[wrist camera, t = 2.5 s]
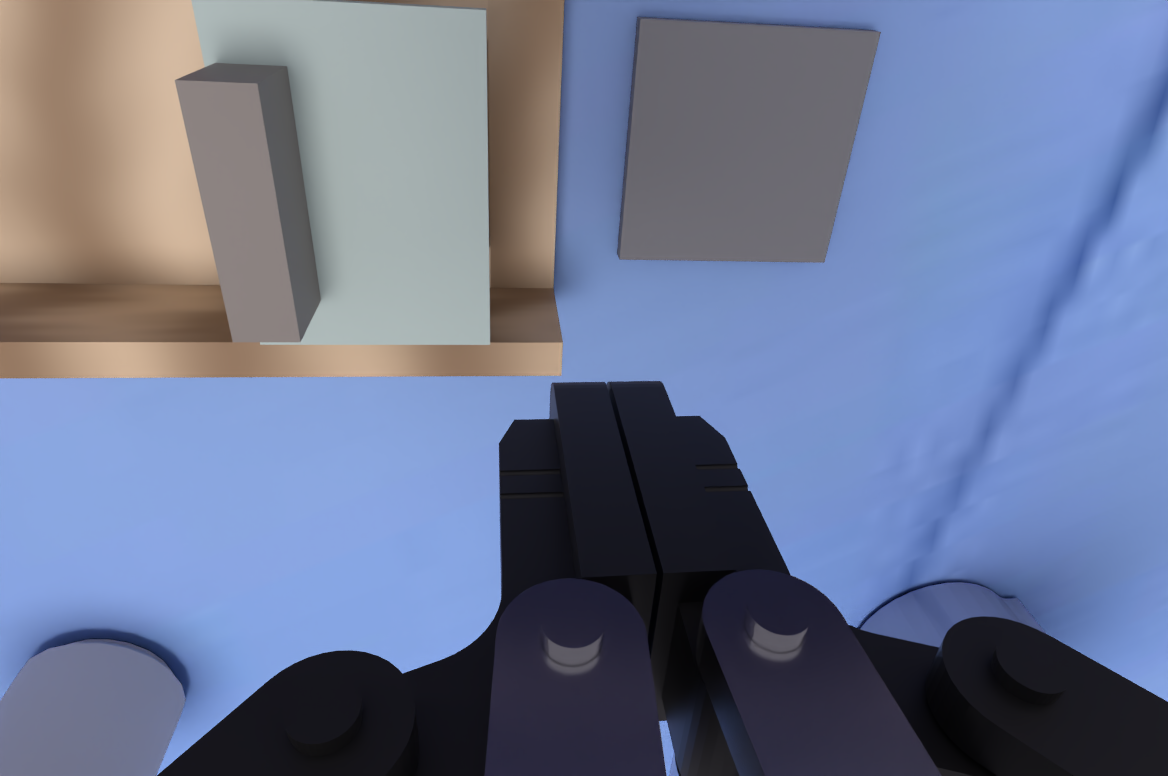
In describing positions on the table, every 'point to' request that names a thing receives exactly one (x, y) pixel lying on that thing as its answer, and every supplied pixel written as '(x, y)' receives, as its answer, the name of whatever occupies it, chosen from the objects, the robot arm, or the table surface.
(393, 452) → the table surface
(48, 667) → the can
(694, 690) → the robot arm
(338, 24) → the lid
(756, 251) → the mat
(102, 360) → the wooden rack
